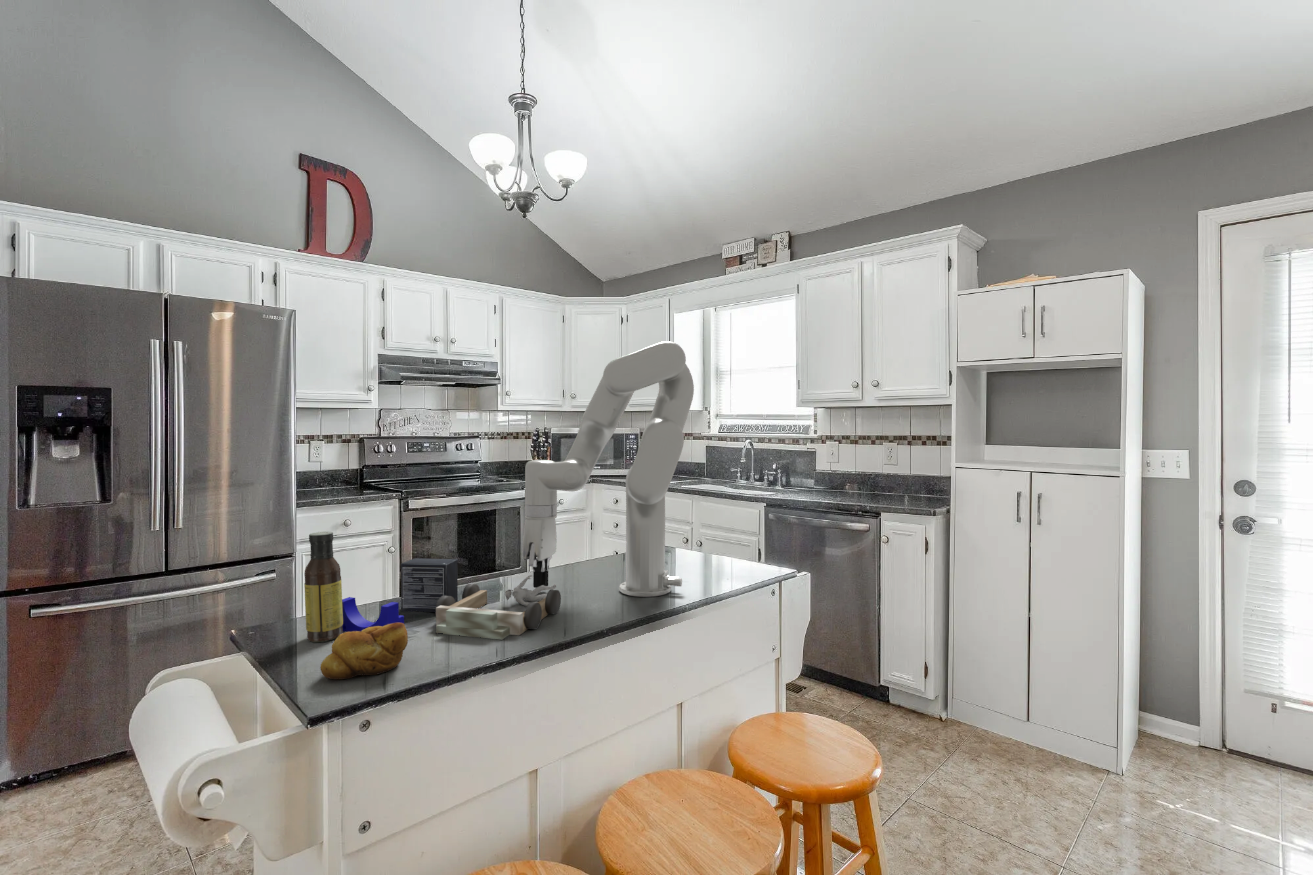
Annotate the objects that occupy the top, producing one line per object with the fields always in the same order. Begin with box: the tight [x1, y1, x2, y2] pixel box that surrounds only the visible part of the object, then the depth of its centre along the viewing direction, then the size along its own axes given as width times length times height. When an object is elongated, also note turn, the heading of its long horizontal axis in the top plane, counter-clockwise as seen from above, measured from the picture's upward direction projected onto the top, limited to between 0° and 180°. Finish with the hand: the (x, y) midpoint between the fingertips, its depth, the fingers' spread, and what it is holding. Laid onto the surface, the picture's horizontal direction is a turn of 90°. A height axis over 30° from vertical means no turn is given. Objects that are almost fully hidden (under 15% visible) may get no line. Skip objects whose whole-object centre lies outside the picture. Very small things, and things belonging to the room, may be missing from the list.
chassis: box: [434, 583, 562, 640], centre depth 130 cm, size 21×20×5 cm
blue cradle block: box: [342, 596, 405, 633], centre depth 123 cm, size 12×4×6 cm, turn 72°
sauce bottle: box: [303, 531, 344, 643], centre depth 119 cm, size 6×6×20 cm
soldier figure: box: [504, 574, 557, 607], centre depth 143 cm, size 8×5×12 cm
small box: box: [400, 557, 459, 613], centre depth 138 cm, size 11×6×10 cm, turn 84°
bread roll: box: [319, 622, 409, 680], centre depth 104 cm, size 13×10×8 cm
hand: (540, 586), depth 152 cm, fingers closed
